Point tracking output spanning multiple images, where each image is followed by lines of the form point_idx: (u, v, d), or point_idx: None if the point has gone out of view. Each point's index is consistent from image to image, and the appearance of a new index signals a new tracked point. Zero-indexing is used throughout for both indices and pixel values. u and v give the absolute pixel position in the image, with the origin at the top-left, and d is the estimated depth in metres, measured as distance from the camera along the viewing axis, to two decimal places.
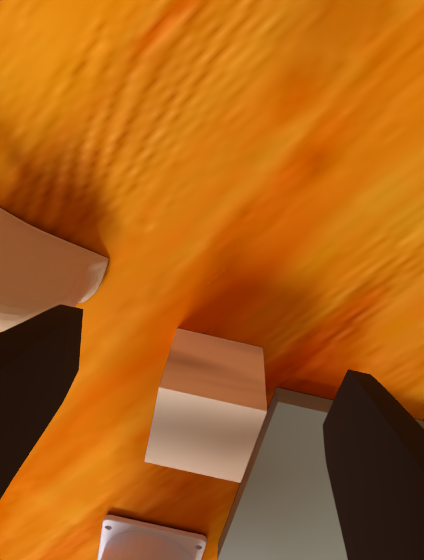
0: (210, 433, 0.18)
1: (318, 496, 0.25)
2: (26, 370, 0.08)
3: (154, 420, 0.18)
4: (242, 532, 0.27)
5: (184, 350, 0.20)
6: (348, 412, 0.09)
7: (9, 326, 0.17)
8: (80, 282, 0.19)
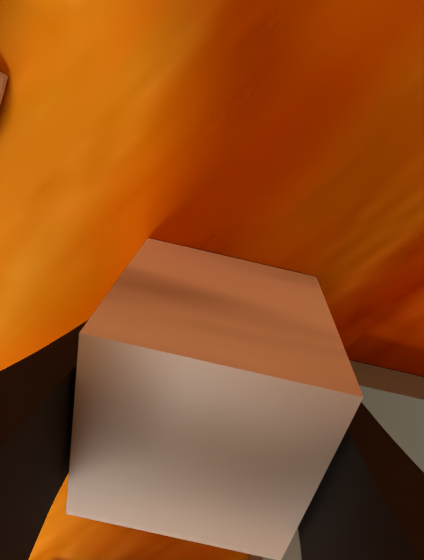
0: (215, 452, 0.07)
1: None
2: None
3: (77, 421, 0.07)
4: None
5: (158, 271, 0.09)
6: None
7: None
8: None
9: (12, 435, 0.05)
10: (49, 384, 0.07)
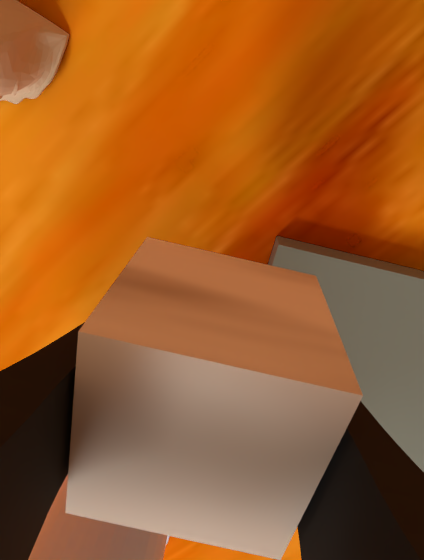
0: (215, 451, 0.07)
1: None
2: None
3: (77, 420, 0.07)
4: None
5: (158, 269, 0.09)
6: None
7: None
8: (25, 44, 0.14)
9: (12, 435, 0.05)
10: (49, 384, 0.07)
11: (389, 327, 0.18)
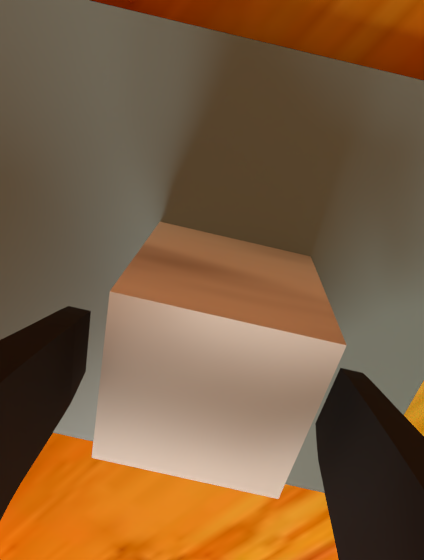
0: (222, 397, 0.09)
1: (129, 256, 0.13)
2: (36, 372, 0.08)
3: (105, 370, 0.09)
4: None
5: (171, 248, 0.11)
6: (340, 410, 0.09)
7: None
8: None
9: None
10: (1, 373, 0.07)
11: (195, 138, 0.11)
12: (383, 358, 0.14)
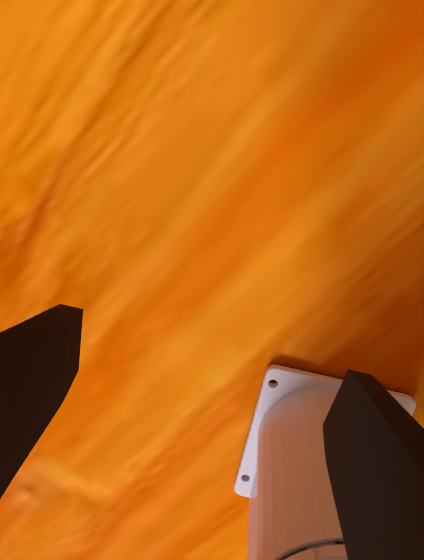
0: None
1: None
2: (26, 370, 0.08)
3: None
4: None
5: None
6: (348, 412, 0.09)
7: None
8: None
9: None
10: None
11: None
12: None
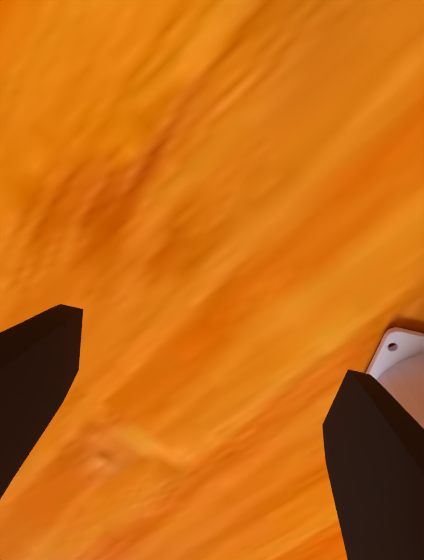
0: None
1: None
2: (26, 370, 0.08)
3: None
4: None
5: None
6: (348, 412, 0.09)
7: None
8: None
9: None
10: None
11: None
12: None
